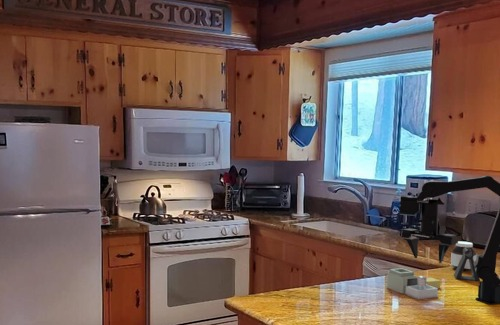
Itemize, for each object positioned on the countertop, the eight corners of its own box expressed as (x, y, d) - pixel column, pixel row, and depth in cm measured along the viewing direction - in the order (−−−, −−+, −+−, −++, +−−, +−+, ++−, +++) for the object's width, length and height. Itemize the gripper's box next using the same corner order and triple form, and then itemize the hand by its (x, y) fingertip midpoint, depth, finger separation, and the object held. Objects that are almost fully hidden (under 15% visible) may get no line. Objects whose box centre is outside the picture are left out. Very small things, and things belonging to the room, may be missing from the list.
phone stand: (455, 279, 201) (457, 249, 201) (453, 275, 207) (455, 246, 207) (480, 281, 199) (481, 251, 199) (477, 277, 205) (478, 248, 204)
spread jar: (461, 272, 214) (462, 244, 214) (441, 266, 224) (442, 240, 224) (481, 270, 219) (483, 243, 219) (461, 264, 229) (462, 239, 229)
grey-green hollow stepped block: (420, 291, 181) (421, 272, 181) (402, 293, 177) (403, 273, 177) (404, 285, 188) (405, 267, 188) (386, 287, 184) (387, 268, 184)
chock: (439, 288, 187) (440, 280, 187) (426, 289, 185) (426, 281, 185) (431, 285, 191) (431, 277, 191) (417, 286, 189) (418, 278, 189)
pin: (428, 294, 174) (428, 277, 174) (421, 295, 173) (421, 278, 173) (421, 292, 177) (422, 275, 177) (415, 293, 176) (415, 276, 176)
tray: (437, 297, 174) (438, 288, 174) (418, 299, 171) (418, 290, 170) (424, 292, 180) (425, 284, 180) (405, 294, 176) (405, 286, 176)
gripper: (465, 218, 176) (464, 262, 177) (416, 212, 190) (415, 253, 190) (451, 220, 169) (449, 266, 169) (401, 214, 182) (399, 257, 183)
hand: (428, 260), depth 178 cm, fingers open, 9 cm apart
